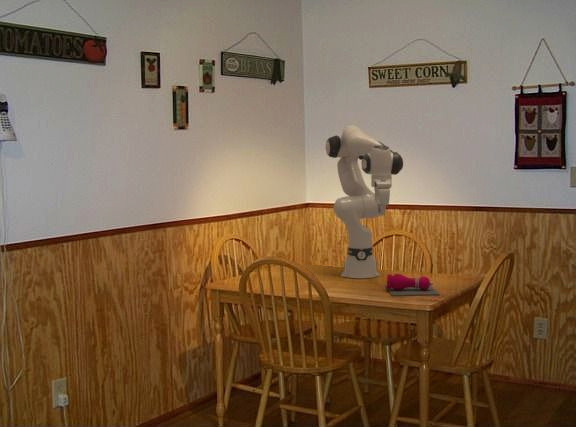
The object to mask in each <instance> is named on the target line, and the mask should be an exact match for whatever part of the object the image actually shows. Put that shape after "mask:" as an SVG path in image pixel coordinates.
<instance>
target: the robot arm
mask: <svg viewBox="0 0 576 427" xmlns="http://www.w3.org/2000/svg"><path fill="white" fill-rule="evenodd" d="M325 151H326V155H327V156H328V157H329V158H333V159H335V158H336V159H337V158H340V159H338V161H337V164H336V166H337V174H338V178H339V181H340V185H341V189H342V192H343V193H344V194H345V195H346V196H343V197H338V198H337V199H336V200H335V201H334V204H333V211H334V215H335V216H336V217H337V218H338V219H339V220H341V222H343V224H344V225H345V227H346V231H347V236H348V247H347V255H348V256H347V257H346V258H345V260H344V261H343V264H342V265H343V271H342V272H341V275H340V277H343V278H349V279H350V278H351V279H371V278H375V277H380V276H381V273H379V272H377V258H376V257H374V256H373V254H374V250H373V249H374V248H373V246H372V245H373V241H372V240H373V239H372V238H373V233H372V231H371V229H370V228H368V227H367V226H365V225H363V224H362V222H361V219H375V218H379V217H382V216H386V210H387V206H389V204H390V197H391V194H390V193H391V189H392V185H393V184H392V182H393V181H392V179H393V178H392V175H393V176H394V175H398V174H399V173H400V172H401V171H403V170H402V169H403V168H404V160H403V159H404V158H403V157H402V156H401V154H400V153H399V152H397V151H393V150H392V149H390V147H389V146H387V145H385V144H384V143H383V142H381V141H379V140H377V139H375V138H373V137H371V136H370V135H368V134H367V133H366V132H365V131H364V130H363V129H362V128H361V127H359V126H358V125H355V124H351V125H348V126H345V127H344V129H343V131H342V133H341V135H336V134H335V135H334V136H331V137H328V138H327V140H326V142H325ZM358 160H361V169H360V166H359V163H358ZM361 170H362V171H361ZM362 172H364V173H365V174H366V175H371V177H370V178H371V183H370V186H371V187H372V188H374V189H373V190H374V192H373V191H372V190H371V189H370V188H369V187H368V185H367V184H366V183H365V180H364V177H363V174H362Z"/></svg>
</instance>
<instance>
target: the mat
mask: <svg viewBox="0 0 576 427" xmlns="http://www.w3.org/2000/svg"><path fill="white" fill-rule="evenodd" d="M384 287H385V289H386V290H387V291H388V293H389V294H390V296H392V297H417V296H418V297H422V296H424V297H425V296H428V297H429V296H440V293H439V292H438V291H437V290H436V289H435V288H434V286H433V285H432V286H431V285H430V286H429V288H428V289H427V290H421V289H420V288H418V289H417V288H416V289H415V288H414V287H407V288H404V289H401V290H395V289H393V288H391V289H387V284H385V285H384Z"/></svg>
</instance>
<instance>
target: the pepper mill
mask: <svg viewBox="0 0 576 427" xmlns="http://www.w3.org/2000/svg"><path fill="white" fill-rule="evenodd" d="M386 285H387V289H391V288H393V289H395V290H401V289H404V288H407V287H414V288H415V289H416V288H417V289H418V288H420V289H421V290H427V289H428V288H429V286H432V287H433V285H434V282H433V281H430V278H429V277H427V276H421V277H416V276H415V277H407V276H405V275H404V274H401V273H394V274H393V275H392V274H391V273H389V274H388V273H387V274H386ZM387 289H386V290H387Z"/></svg>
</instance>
